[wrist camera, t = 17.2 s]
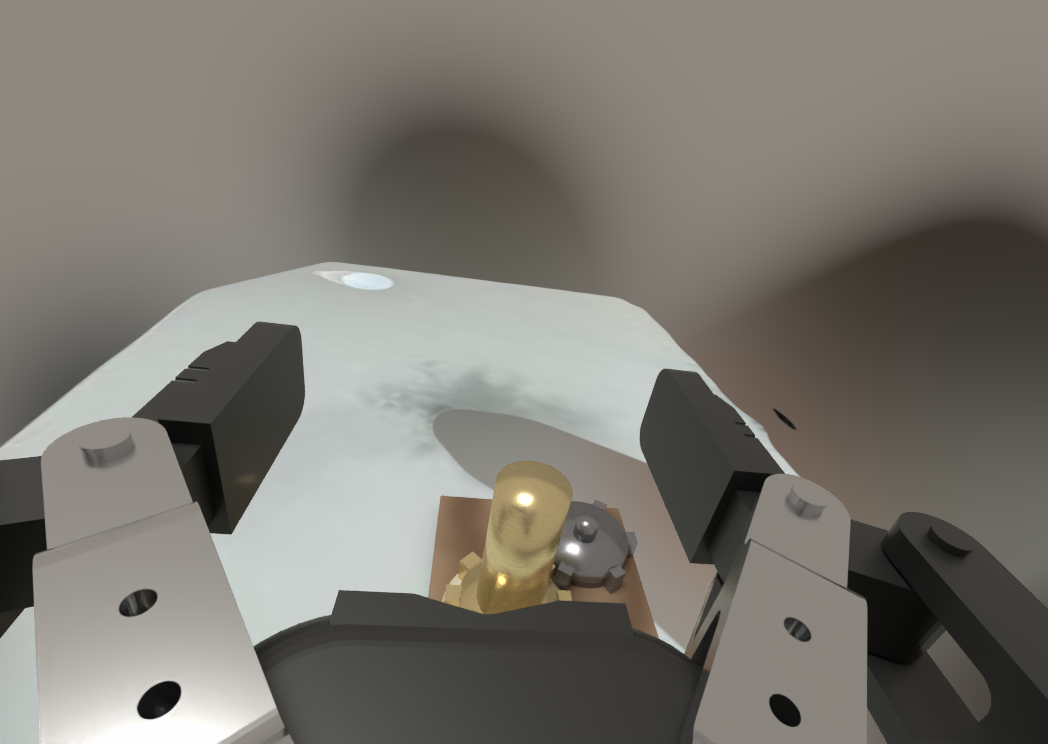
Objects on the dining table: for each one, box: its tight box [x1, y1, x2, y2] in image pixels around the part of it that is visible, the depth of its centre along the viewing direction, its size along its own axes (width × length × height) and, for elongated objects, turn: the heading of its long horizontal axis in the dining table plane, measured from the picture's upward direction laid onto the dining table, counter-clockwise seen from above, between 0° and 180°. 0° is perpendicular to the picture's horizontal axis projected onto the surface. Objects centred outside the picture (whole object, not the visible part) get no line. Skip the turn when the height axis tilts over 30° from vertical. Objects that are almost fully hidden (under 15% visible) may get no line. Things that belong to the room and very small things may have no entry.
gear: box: [553, 500, 637, 594], centre depth 43 cm, size 10×9×4 cm
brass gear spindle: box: [444, 461, 572, 614], centre depth 34 cm, size 10×10×13 cm
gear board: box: [429, 496, 659, 639], centre depth 40 cm, size 18×20×1 cm
